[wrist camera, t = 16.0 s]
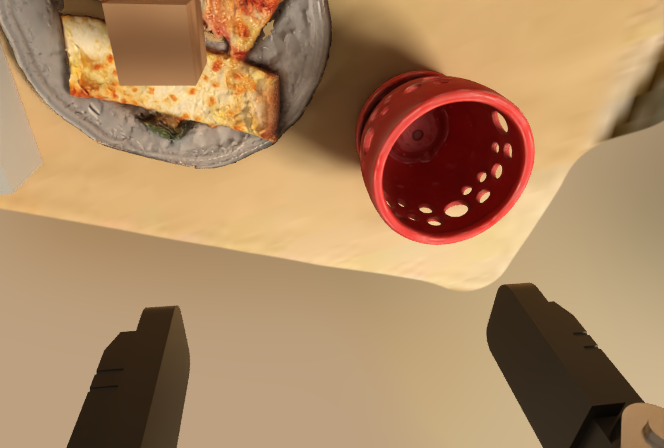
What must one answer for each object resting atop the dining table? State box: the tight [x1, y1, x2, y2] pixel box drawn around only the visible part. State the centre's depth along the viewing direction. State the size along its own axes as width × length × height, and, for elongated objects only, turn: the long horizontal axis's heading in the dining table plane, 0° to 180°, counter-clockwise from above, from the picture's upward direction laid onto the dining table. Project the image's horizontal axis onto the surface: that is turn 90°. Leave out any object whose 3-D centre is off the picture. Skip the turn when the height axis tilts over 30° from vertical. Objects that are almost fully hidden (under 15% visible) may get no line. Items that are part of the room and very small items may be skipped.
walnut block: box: [102, 0, 207, 86], centre depth 32 cm, size 5×5×7 cm
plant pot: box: [355, 71, 535, 245], centre depth 39 cm, size 13×13×12 cm
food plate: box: [0, 0, 332, 169], centre depth 36 cm, size 25×23×4 cm
